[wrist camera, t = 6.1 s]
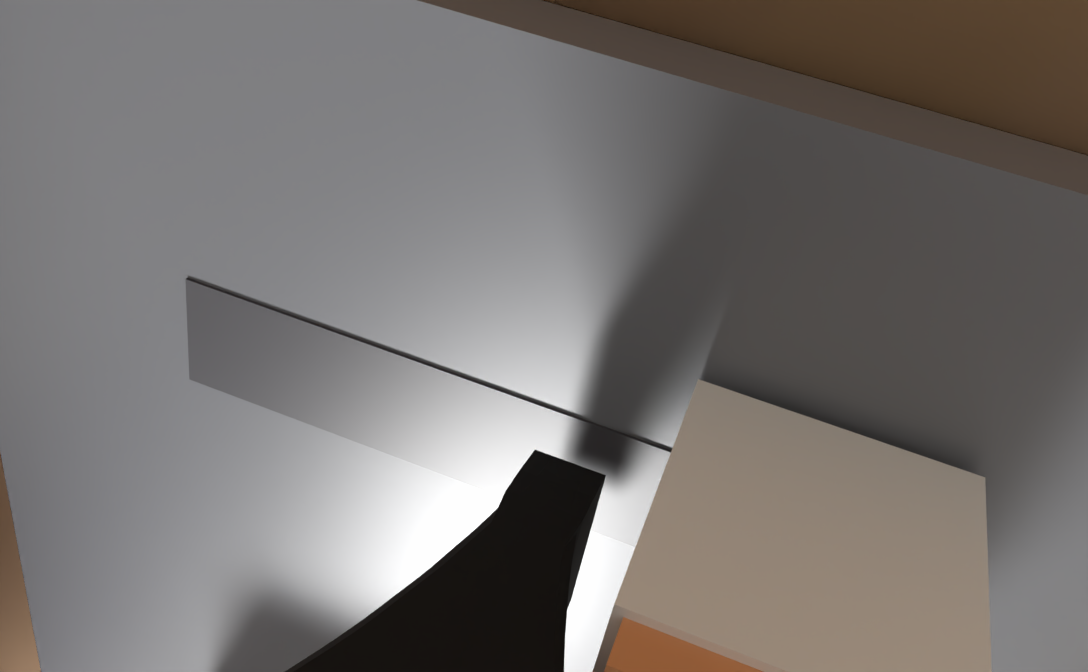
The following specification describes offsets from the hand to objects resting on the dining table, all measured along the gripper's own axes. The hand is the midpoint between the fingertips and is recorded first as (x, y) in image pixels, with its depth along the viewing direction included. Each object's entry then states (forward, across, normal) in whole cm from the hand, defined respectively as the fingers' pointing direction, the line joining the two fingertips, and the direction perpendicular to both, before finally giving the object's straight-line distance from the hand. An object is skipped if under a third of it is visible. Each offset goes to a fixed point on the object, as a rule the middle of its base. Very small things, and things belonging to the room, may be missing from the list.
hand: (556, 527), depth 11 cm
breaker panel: (+2, 0, +5) cm, 5 cm away
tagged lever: (+1, -2, 0) cm, 3 cm away
